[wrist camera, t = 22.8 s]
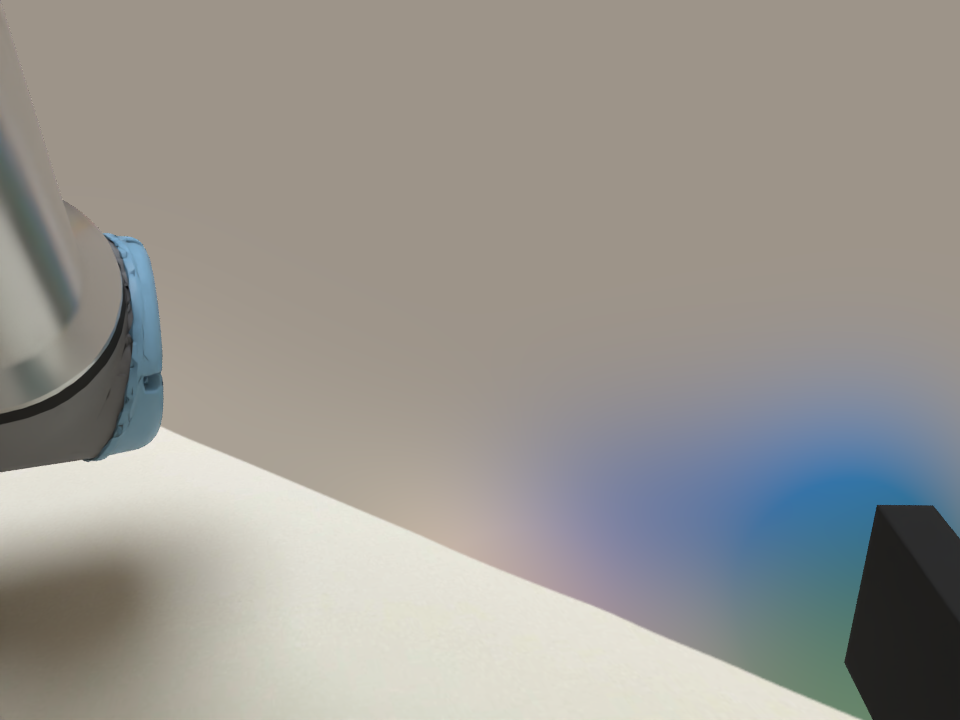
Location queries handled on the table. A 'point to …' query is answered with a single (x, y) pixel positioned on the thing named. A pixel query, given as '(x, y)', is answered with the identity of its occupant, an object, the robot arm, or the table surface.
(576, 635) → the table surface
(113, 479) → the table surface
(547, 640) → the table surface
